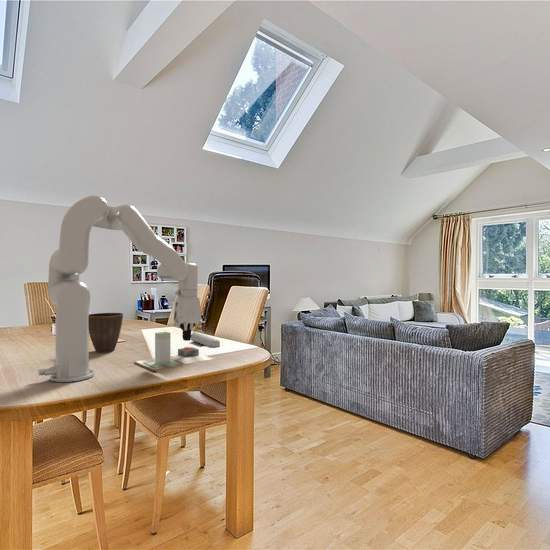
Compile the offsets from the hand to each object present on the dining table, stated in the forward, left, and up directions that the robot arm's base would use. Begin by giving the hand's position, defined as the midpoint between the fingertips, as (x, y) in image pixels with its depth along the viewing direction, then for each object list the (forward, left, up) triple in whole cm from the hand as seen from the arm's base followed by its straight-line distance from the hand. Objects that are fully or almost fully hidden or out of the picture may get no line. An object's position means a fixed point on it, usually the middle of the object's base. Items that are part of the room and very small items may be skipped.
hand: (186, 340), depth 154 cm
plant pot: (-20, +37, -7) cm, 42 cm away
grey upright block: (-13, -7, -6) cm, 16 cm away
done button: (+1, 0, -6) cm, 6 cm away
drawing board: (-7, -5, -7) cm, 11 cm away
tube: (+20, +19, -8) cm, 29 cm away
